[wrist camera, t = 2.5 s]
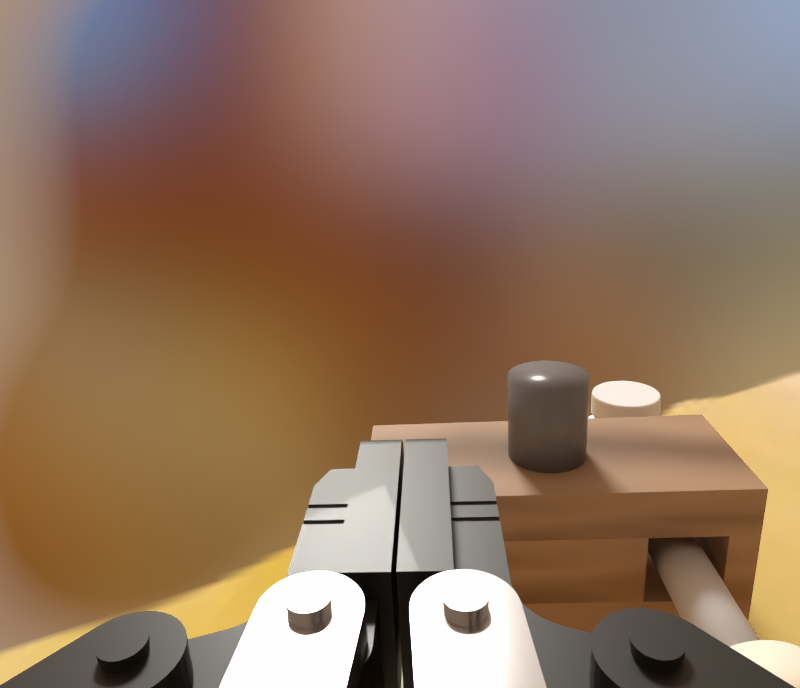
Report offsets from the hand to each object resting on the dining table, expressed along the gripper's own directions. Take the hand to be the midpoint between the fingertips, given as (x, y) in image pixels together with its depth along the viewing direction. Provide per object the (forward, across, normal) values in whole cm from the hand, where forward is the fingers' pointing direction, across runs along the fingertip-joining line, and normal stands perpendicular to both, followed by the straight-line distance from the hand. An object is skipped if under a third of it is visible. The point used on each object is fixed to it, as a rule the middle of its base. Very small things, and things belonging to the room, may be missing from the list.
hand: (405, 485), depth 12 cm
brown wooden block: (+18, -6, +20) cm, 28 cm away
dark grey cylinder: (+18, -6, +9) cm, 21 cm away
